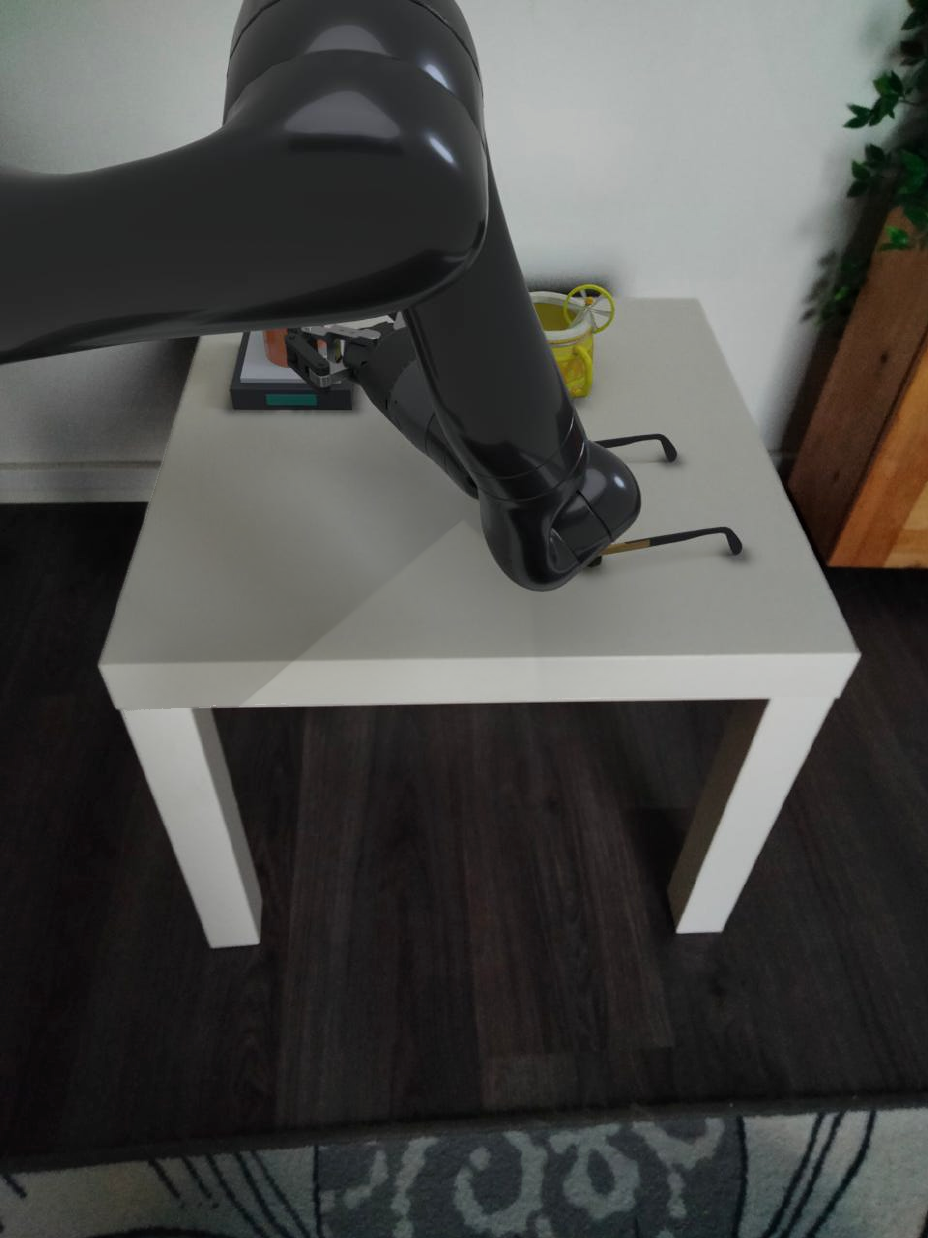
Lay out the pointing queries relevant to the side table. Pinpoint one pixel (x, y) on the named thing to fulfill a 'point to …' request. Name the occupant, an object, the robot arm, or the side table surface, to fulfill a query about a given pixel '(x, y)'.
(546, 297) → the mug
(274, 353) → the cup
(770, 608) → the side table surface
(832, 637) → the side table surface
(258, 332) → the scale
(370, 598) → the side table surface
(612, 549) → the sunglasses
